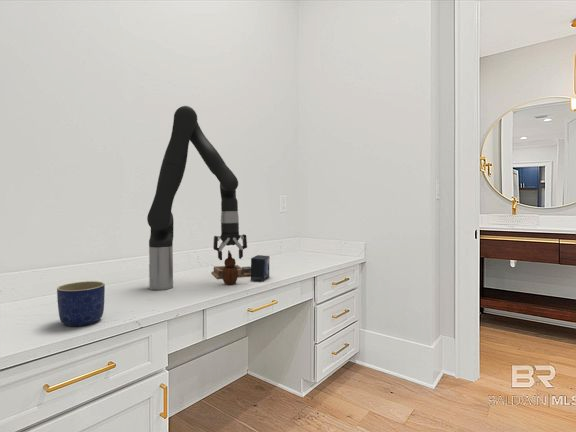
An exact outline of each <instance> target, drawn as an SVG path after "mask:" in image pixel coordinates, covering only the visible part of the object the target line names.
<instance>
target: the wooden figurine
mask: <svg viewBox="0 0 576 432" xmlns="http://www.w3.org/2000/svg"><path fill="white" fill-rule="evenodd" d="M236 262H237V261H236V259H235V258H233V255H232V253H231V250H227V258H226V259H224V266H226V267H225V268H224V269H223V271H222V278H223V279H222V281H223V283H224V284H225V285H227V286H230V285H231V286H232V285H234V284H236V283H237V281H238V278H239V277H238V271H237V268H236V267H234V266H235V265H237V263H236Z"/></svg>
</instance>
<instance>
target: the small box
mask: <svg viewBox="0 0 576 432" xmlns="http://www.w3.org/2000/svg"><path fill="white" fill-rule="evenodd" d="M250 267H251V276H250V282H260V283H263V282H265V281H266V280H268V279H269V278H270V255H259V254H257V255H255V256H252V257H251V258H250Z"/></svg>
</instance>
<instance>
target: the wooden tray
mask: <svg viewBox="0 0 576 432" xmlns="http://www.w3.org/2000/svg"><path fill="white" fill-rule="evenodd" d="M225 267H226V266H225V265H218V266H216V265H215V266H213V271H211V275H212V276H213V277H214V278H215V279H217V280H221V279H222V280H223V278H222V271H223V269H224V268H225ZM234 267H236V268H237V271H238V278H247V277H250V278H251V265H250V266H240V265H238V264H235V266H234Z"/></svg>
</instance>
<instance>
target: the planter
mask: <svg viewBox="0 0 576 432" xmlns="http://www.w3.org/2000/svg"><path fill="white" fill-rule="evenodd" d="M105 286H106V285H105V283H104V282H103V281H92V280H90V281H78V282H77V281H76V282H70V283H65V284H63V285H60V286H58V287H57V288H56V297H57V298H56V299H57V310H58V316H59V320H60V322H61V323H62V324H63V325H65V326H68V327H80V326H79V325H83V326H87V325H86V324H88V325H91V324H90V323H92V324H94V323H96V322H98V321H100V320H101V318H102V317H103V314H104V310H105V293H106V292H105Z"/></svg>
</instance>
